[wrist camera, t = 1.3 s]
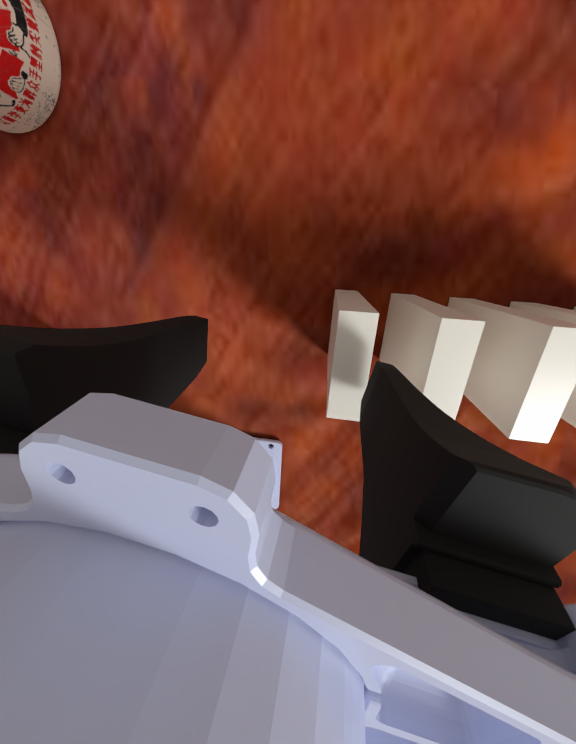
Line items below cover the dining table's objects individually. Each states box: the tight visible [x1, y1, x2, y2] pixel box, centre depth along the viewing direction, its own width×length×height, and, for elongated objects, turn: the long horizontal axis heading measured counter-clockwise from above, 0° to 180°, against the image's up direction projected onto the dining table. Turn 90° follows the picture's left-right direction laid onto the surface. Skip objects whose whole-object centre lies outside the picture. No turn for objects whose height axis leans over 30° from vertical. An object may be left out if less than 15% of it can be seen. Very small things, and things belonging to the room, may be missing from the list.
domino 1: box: [326, 289, 379, 421], centre depth 17 cm, size 2×5×10 cm, turn 176°
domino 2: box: [379, 293, 486, 420], centre depth 17 cm, size 2×5×10 cm, turn 176°
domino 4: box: [509, 301, 576, 428], centre depth 16 cm, size 2×5×10 cm, turn 177°
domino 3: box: [447, 297, 576, 443], centre depth 16 cm, size 2×5×10 cm, turn 177°
